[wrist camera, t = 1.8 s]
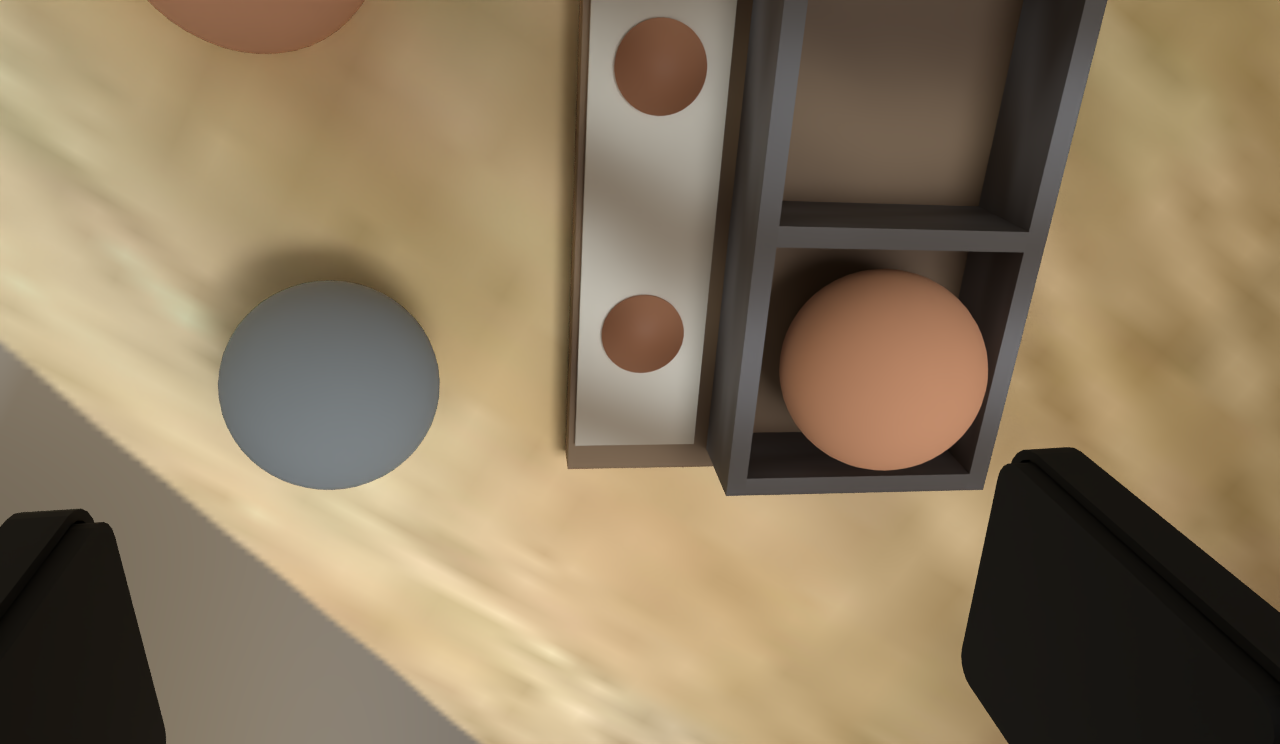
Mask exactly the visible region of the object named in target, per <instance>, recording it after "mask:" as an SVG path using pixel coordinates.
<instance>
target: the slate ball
mask: <svg viewBox="0 0 1280 744" xmlns="http://www.w3.org/2000/svg"><path fill="white" fill-rule="evenodd" d="M218 392H219V401H220V406H221V410H222V415H223V418H224V420H225V423H226V425H227V428H228V429H229V431H230V433H231V435H232V437H233V438H234V440H235V442H236V443H237V444H238V446H239V447H240V448H241V450H242V451H243V452H244V453H245V454H246V455H247V456H248V457H249V458H250V459H251V460H252V461H253V462H254V463H255V464H256V465H258V466H259V467H260V468H262V469H263V470H265V471H266V472H268V473H269V474H271V475H273V476H275V477H277V478H279V479H281V480H283V481H286V482H289V483H291V484H294V485H298V486H302V487H306V488H313V489H323V490H335V489H346V488H351V487H356V486H359V485H362V484H366V483H369V482H371V481H373V480H376V479H378V478H380V477H383V476H384V475H386V474H388V473H389V472H391V471H393V470H394V469H395V468H396V467H398V466H399V465H400V464H402V463H403V462H404V461H405V460H406V459H407V458H408V457H409V456H410V455H411V454H412V453H413V452H414V451H415V450H416V449H417V447H418V446H419V445H420V443H421V442H422V440H423V439H424V437H425V436H426V434H427V432H428V430H429V428H430V426H431V424H432V421H433V418H434V415H435V412H436V409H437V404H438V399H439V370H438V364H437V361H436V357H435V353H434V351H433V348H432V346H431V343H430V341H429V339H428V337H427V335H426V334H425V332H424V330H423V329H422V327H421V326H420V325H419V323H418V322H417V321H416V320H415V318H414V317H413V316H412V315H411V314H410V313H409V312H408V311H407V310H406V309H405V308H403V307H402V306H401V305H400V304H398V303H397V302H396V301H394V300H393V299H391V298H390V297H388V296H386V295H385V294H383V293H381V292H379V291H376V290H374V289H372V288H369V287H366V286H363V285H360V284H356V283H350V282H345V281H314V282H308V283H302V284H299V285H296V286H292V287H289V288H287V289H285V290H283V291H280V292H278V293H276V294H274V295H272V296H271V297H269V298H267V299H266V300H264V301H263V302H261V303H260V304H259V305H258V306H256V307H255V308H254V309H253V310H252V311H251V312H250V313H249V314H248V315H247V316H246V317H245V318H244V319H243V320H242V321H241V323H240V324H239V325H238V326H237V328H236V330H235V331H234V333H233V334H232V336H231V338H230V340H229V342H228V344H227V346H226V349H225V351H224V353H223V357H222V361H221V365H220V370H219V380H218Z"/></svg>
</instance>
